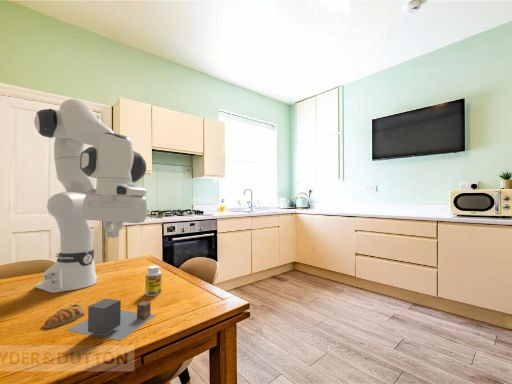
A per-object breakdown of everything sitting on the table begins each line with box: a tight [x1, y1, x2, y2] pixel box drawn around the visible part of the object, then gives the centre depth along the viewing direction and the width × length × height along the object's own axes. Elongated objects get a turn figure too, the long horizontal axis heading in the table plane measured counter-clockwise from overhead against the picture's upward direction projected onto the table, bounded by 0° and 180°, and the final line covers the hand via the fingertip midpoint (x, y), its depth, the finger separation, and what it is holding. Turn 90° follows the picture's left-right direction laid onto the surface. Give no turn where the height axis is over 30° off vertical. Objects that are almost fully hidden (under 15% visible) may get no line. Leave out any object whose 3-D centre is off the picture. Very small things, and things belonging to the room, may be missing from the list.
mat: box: [65, 309, 157, 341], centre depth 71 cm, size 18×14×1 cm
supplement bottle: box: [144, 265, 163, 297], centre depth 93 cm, size 6×6×10 cm
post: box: [136, 300, 152, 319], centre depth 74 cm, size 3×3×4 cm
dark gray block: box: [87, 298, 122, 335], centre depth 66 cm, size 5×5×7 cm
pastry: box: [43, 303, 85, 329], centre depth 73 cm, size 9×7×4 cm
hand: (112, 237), depth 71 cm, fingers closed
